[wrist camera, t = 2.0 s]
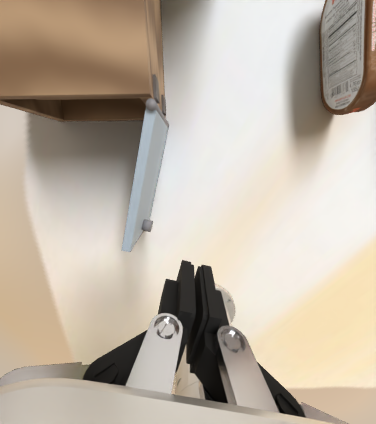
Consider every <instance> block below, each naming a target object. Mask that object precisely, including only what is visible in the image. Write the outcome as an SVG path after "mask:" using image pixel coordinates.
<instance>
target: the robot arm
mask: <svg viewBox="0 0 376 424" xmlns="http://www.w3.org/2000/svg"><path fill="white" fill-rule="evenodd" d="M234 316H235V305H234V301H233V299H232V297H231V295H230V294H229V292H228V291H226V290H225V289H224V288H222V287H221V286H219V285H216V284H215V283H214V279H213V274H212V269H211V267H210V266H206V265H202V266H201V267H200V266H198V269H197V272H196V275H195V278H194V265H191V262H188V261H184V260H182V263H181V266H180V270H179V273H178V277H177V281H174V280H169V279H166V281H165V284H164V288H163V292H162V297H161V301H160V306H159V311H158V315H156V316H155V317H154V318H153V319H152V321H151V323H150V326H149V328H148V330H146V331H145V332H143V333H141V334H140V335H138V336H136V337H134V338H133V339H131V340H129V341H127V342H126V343H124V344H122V345H121V346H119V347H117V348H115V349H114V350H112V351H110V352H109V353H107V354H105V355H103V356H102V357H100V358H98V359H97V360H96V361H94V362H93V363H92V364H91V365H81V364H82V362H77V363H65V364H53V365H42V366H29V367H22V368H18V369H14V370H12V371H11V372H9V373H7V374H5V375H4V376H3V377H1V378H0V424H348V423H346V422H344V421H342V420H339V419H337V418H335V417H333V416H331V415H329V414H326V413H324V412H322V411H320V410H318V409H316V408H314V407H311V406H309V405H307V404H305V403H303V402H301V404H300V405H299V404H298V402H297V401H296V399H295V398H294V397H293V396H292V395H291V394H290V393H289V392H288V391H287V390H286V389H285V388H284V387H283V386H282V385H281V384H280V383H279V382H278V381H277V380H275V379H274V378H273V377H272V376H271V375H270V374H269V373H268V372H267V371H266V370H265V369H264V368H263V367H262V366H261V365H260V364H259V363H258V362H257V361H256V359H255V357H254V354H253V352H252V350H251V348H250V345H249V343H248V341H247V339H246V337H245V336H244V335H243V334H242V333H241V332H240V331H239V330H238V329H236V328H234V327H232V324H231V322H232V321H233V319H234ZM175 373H176V384H175V395H174V394H171V392H172V387H173V381H174V376H175Z"/></svg>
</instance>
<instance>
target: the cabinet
mask: <svg viewBox="0 0 376 424" xmlns="http://www.w3.org/2000/svg"><path fill="white" fill-rule="evenodd" d="M149 98H152V99H154V100H155V101H156V103H157V105H158V106H159V108H160V110H161V111H162V113H163V115H164V117H165V118H166V102H165V93H164V70H163V46H162V23H161V0H0V104H1V105H4V106H8V107H12V108H15V109H19V110H22V111H25V112H29V113H33V114H36V115H40V116H43V117H47V118H50V119H54V120H57V121H61V122H65V121H128V120H144V115H145V110H146V101H147V100H148V99H149Z"/></svg>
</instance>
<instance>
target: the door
mask: <svg viewBox="0 0 376 424" xmlns="http://www.w3.org/2000/svg"><path fill="white" fill-rule="evenodd" d="M168 127H169V124H168V122H167V120H166V118H165V117H164V115H163V113H162V111H161V110H160V108H159V106H158V105H157V103H156V101H155V100H154V99H152V98H149V99H148V100H147V101H146V110H145V115H144V121H143V127H142V133H141V139H140V145H139V151H138V157H137V163H136V169H135V174H134V180H133V186H132V192H131V198H130V204H129V210H128V216H127V222H126V227H125V233H124V239H123V245H122V250H123V251H127V252H131V250H132V248H133V247H134V245H135V244H136V242H137V240H138V239H139V237H140V235H141V234H142V232H143V231H148V232H150V231H151V229H152V225H153V221H150V215H151V210H152V206H153V201H154V196H155V191H156V186H157V181H158V176H159V172H160V167H161V162H162V157H163V152H164V147H165V142H166V137H167V133H168Z"/></svg>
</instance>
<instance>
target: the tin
mask: <svg viewBox="0 0 376 424" xmlns="http://www.w3.org/2000/svg"><path fill="white" fill-rule="evenodd" d="M320 73H321V96H322V101H323V104H324V106H325V108H326V109H327V110H328V111H329V112H330V113H332V114H335V115H344V114H348V113H352V112H360V111H363V110H365V109H367V108H369V107H370V106H371V105H373V104H374V103H375V102H376V0H326V1H325V4H324V7H323V11H322V16H321V22H320Z"/></svg>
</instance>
